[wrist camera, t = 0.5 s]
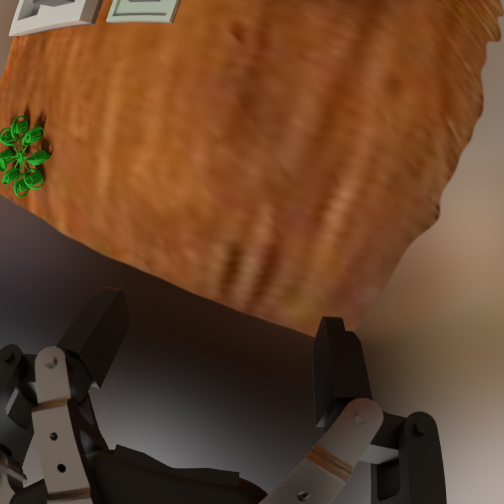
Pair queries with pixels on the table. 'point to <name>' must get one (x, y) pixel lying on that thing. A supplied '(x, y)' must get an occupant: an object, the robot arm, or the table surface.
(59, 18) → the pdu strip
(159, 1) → the grey rectangular prism
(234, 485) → the robot arm
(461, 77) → the table surface
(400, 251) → the table surface
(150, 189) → the table surface
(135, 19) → the sage tray
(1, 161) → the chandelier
